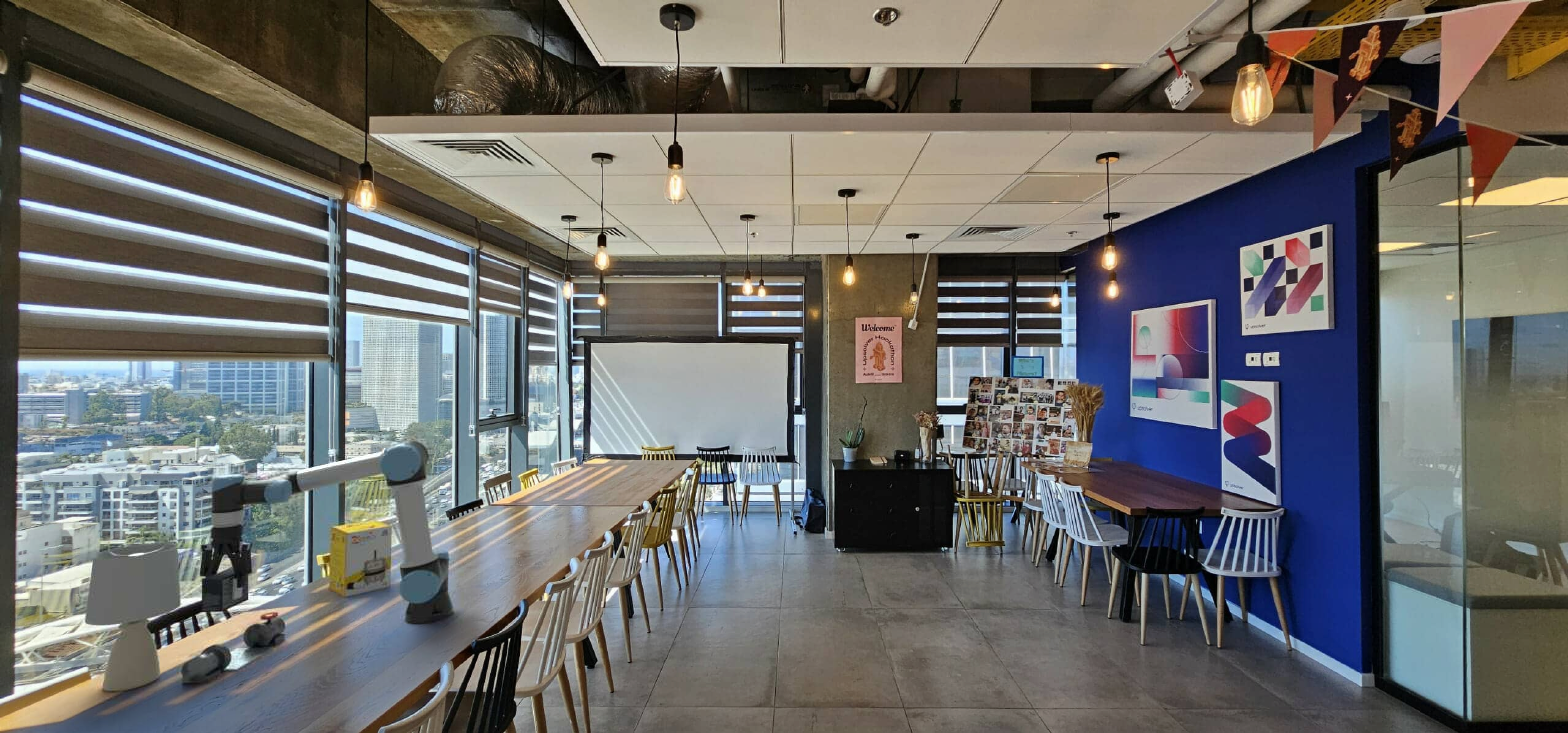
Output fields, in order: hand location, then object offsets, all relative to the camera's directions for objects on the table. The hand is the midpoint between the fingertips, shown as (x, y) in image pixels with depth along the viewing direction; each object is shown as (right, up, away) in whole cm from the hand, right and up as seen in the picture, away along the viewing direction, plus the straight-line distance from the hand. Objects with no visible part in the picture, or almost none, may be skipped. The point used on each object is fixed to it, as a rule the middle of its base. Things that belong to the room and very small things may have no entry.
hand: (225, 598), depth 194 cm
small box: (0, -3, 0) cm, 3 cm away
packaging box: (+1, -18, +59) cm, 62 cm away
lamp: (-8, -16, -20) cm, 27 cm away
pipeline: (+9, -17, -6) cm, 20 cm away
